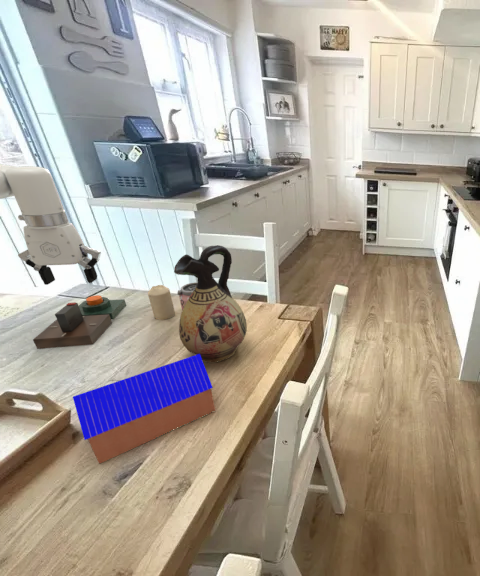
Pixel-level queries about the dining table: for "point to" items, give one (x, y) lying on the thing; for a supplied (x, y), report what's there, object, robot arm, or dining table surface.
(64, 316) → the dark grey block
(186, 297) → the pink lidded cup
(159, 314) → the candle
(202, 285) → the ceramic jug
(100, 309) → the button box
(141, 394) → the house
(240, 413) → the dining table surface
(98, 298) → the button
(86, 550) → the dining table surface
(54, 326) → the panel
